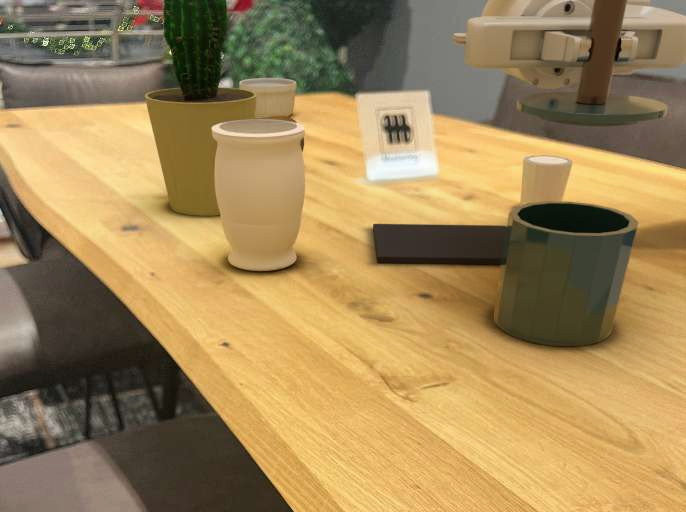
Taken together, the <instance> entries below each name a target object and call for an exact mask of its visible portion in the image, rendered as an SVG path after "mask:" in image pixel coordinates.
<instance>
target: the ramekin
mask: <svg viewBox="0 0 686 512" xmlns="http://www.w3.org/2000/svg"><path fill="white" fill-rule="evenodd" d="M238 89H244V90H249V91H253V92H255V93H257V96H256V110H255V118H258V117H269V116H287V117H290V116H291V115H292V114H293V112H294V109H295V101H296V90H297V81H295V80H293V79H288V78H280V77H257V78H246V79H242V80H240V81H239V82H238Z"/></svg>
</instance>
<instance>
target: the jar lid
mask: <svg viewBox="0 0 686 512" xmlns="http://www.w3.org/2000/svg"><path fill="white" fill-rule="evenodd" d="M626 5H627V0H594V3H593V9H592V14H591V20H590V25H589V31H588V36H587V37H590V38H591V40H592V42H591V48H590V49H589V50H588V51H589V53H590V54H589V59H588V61H587V62H583V64H582V70H581V75H580V81H579V82H578V88H577V91H560V92H559V91H558V92H557V91H556V92H555V91H554V92H540V93H533V94H527V95H524V96H523V95H522V96H521V97H519V98H517V101H516V109H517V110H518V111H519V112H521V113H524V114H528V115H531V116H534V117H538V118H539V119H541V120H544V121H547V122H551V123H556V124H562V125H569V126H570V125H571V126H580V127H581V126H582V127H622V126H623V127H624V126H631V125H635V124H638V123H640V122H649V121H654V120H658V119H661V118H664V117H666V116H667V113H668V110H669V105H668V104H666V103H664V102H662V101H660V100H656V99H652V98H647V97H642V96H635V95H628V94H619V93H610V90H611V84H612V80H613V76H612V74H613V69H614V64H615V60H616V55H617V50H618V45H619V40H620V35H621V30H622V25H623V20H624V15H625V10H626Z"/></svg>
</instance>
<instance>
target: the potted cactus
mask: <svg viewBox="0 0 686 512" xmlns="http://www.w3.org/2000/svg"><path fill="white" fill-rule="evenodd" d="M159 1H161V2H163V4H164V5H157V6H156V7H157V8H161V9H159V11H160V12H161V14H162V17H163V20H161V19H158V18H157V20H158V21H160V22H162V24H161V25H162V26H161V27H162V28H161V29H162V30H163V31H162V33H163V35H161V38H160V40H162V39H163V40H162V41H161V43H162V44H164V45H163V47H164V48H166V47H167V46H168V48H169V51H170V53H171V54H170V57H171V59H168V60H166V61H171V62H172V65H169V66H168V68H170V67H173V69H172V72H173V74H171V77H174V78H173V80H175V79H177V80H176V81H177V82H178V84H177V87H175V88H173V87H172V88H166V89H165V88H163V89H158V90H153V91H149V92H147V93H145V94H144V98H145V102H146V107H147V108H146V109H147V113H148V117H149V121H150V125H151V129H152V134H153V137H154V142H155V146H156V150H157V154H158V160H159V165H160V167H161V172H162V176H163V181H164V183H165V184H164V185H165V189H166V193H167V197H168V202H169V205H170V207H171V209H172V210H173V211H174V212H175V213H176V212H177V213H179V214H183V215H190V216H201V217H202V216H205V217H206V216H207V217H208V216H221V214H220V211H219V207H218V203H217V198H216V191H215V178H214V171H215V156H216V150H217V146H218V144H217V141H216V140H215V139H214V138H213V136H212V127H213V126H215V125H217V124H220V123H224V122H230V121H236V120H247V119H255V110H256V96H257V93H255V92H253V91H249V90H244V89H239V88H237V87H226V86H224V85H225V84H224V83H223V80H222V79H221V76H222V65H225V62H224V61H223V60H224V59H223V57H222V56H224V53H222V46H223V47H224V48H223V51H226V50H225V49H227V50H229V51H230V49H229V48H228V47H226V45H227V44H228V43H227V42H226V41H227V39H228V38H229V36H228V35H229V34H230V33H232V34H233V33H234V31H230V30H229V31H228V22H230V19H228V17H229V16H232V15H233V13H228V5H227V1H228V0H159ZM164 40H165V41H164ZM224 42H225V43H224ZM162 50H163V48H161V49H160V51H162ZM225 61H228V60H226V59H225ZM221 63H222V64H221ZM223 70H226V69H225V68H223Z"/></svg>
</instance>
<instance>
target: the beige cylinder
mask: <svg viewBox="0 0 686 512" xmlns="http://www.w3.org/2000/svg"><path fill="white" fill-rule="evenodd" d="M573 163H574V161H573V160H571V159H569V158H568V157H564V156H563V157H562V156H557V155H546V154H545V155H544V154H542V155H529V156H525V157H524V158H523V159H522V173H521V186H520V187H521V190H520V202H519V206H520V205H524V204H527V203H535V202H544V201H563V198H564V195H565V192H566V188H567V185H568V181H569V177H570V175H571V170H572V166H573Z"/></svg>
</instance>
